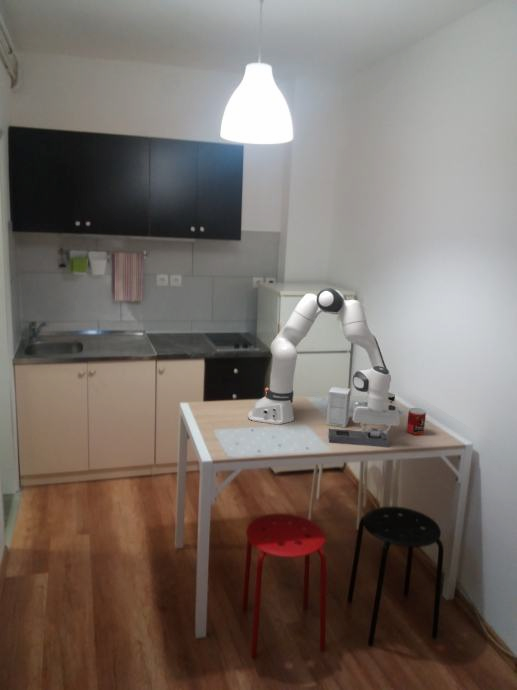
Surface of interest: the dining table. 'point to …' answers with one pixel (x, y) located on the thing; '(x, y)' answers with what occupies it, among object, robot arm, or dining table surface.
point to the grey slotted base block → (356, 438)
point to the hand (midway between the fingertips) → (374, 433)
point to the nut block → (374, 433)
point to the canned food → (416, 421)
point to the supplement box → (338, 406)
